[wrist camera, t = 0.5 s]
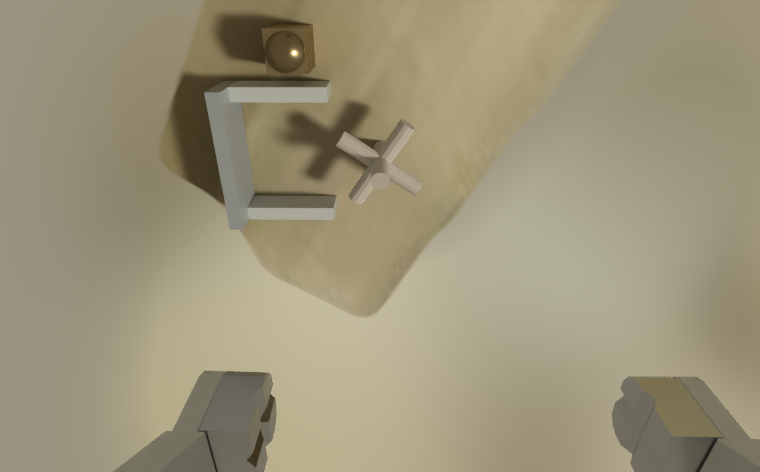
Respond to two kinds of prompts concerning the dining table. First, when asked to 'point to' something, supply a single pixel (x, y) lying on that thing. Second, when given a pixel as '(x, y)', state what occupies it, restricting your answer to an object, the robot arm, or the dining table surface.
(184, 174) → the dining table surface
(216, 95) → the socket cradle
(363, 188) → the beige crossed rod piece
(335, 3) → the dining table surface
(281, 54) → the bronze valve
